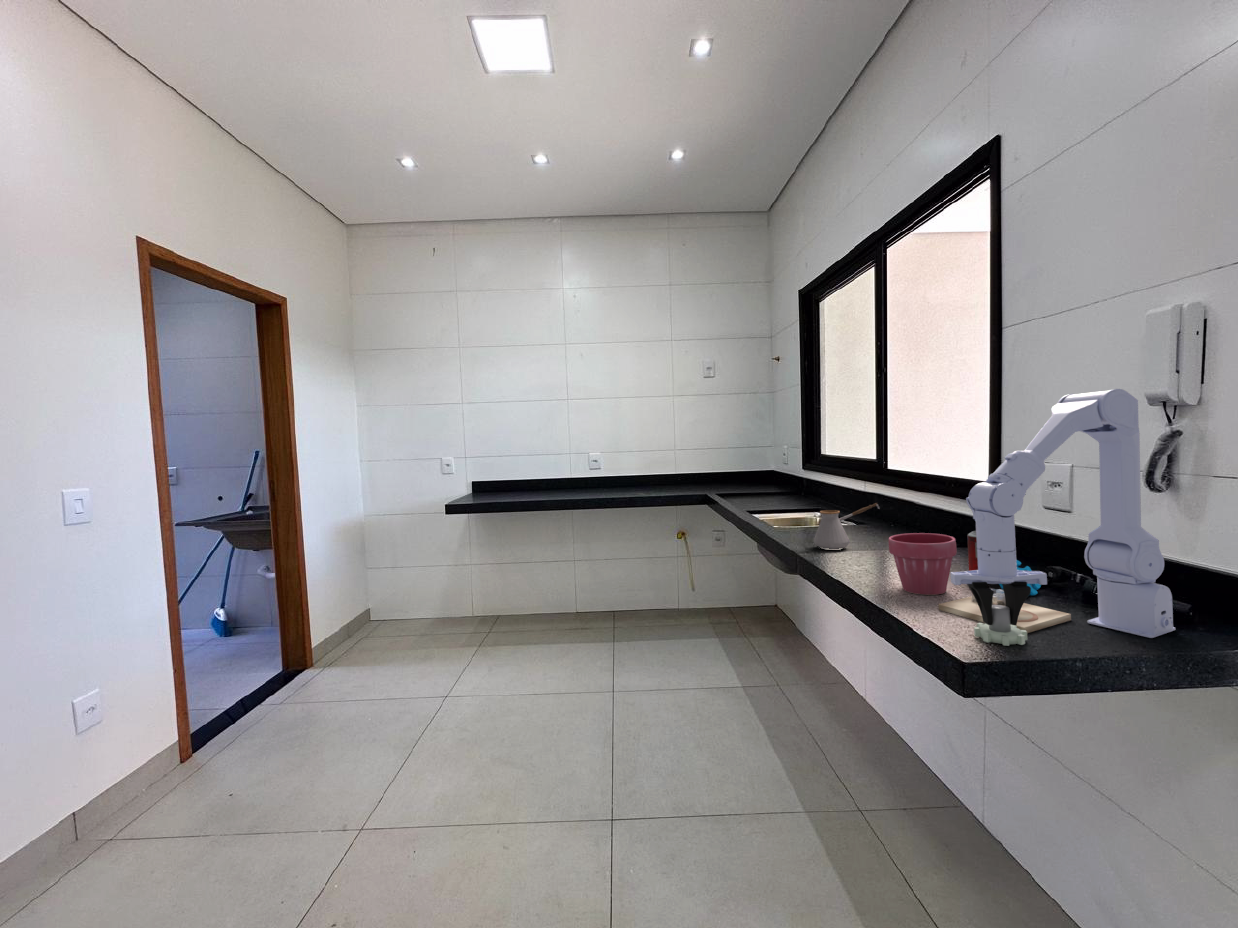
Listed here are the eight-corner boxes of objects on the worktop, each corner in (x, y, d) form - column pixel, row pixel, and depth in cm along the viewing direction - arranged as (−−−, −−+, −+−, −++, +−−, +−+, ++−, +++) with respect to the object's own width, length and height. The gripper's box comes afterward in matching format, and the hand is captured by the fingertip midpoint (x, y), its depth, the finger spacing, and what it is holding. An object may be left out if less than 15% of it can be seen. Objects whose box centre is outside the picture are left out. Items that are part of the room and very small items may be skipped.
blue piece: (1005, 592, 116) (986, 554, 123) (990, 605, 121) (973, 567, 128) (1055, 596, 116) (1034, 557, 123) (1039, 609, 121) (1018, 571, 128)
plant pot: (877, 586, 133) (875, 536, 133) (925, 579, 136) (923, 530, 135) (921, 601, 119) (918, 545, 119) (973, 594, 122) (971, 539, 121)
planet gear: (1037, 639, 93) (1036, 609, 93) (1008, 648, 91) (1007, 617, 90) (992, 627, 101) (991, 598, 100) (964, 635, 98) (963, 605, 98)
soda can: (1006, 585, 126) (1004, 534, 126) (971, 583, 130) (968, 534, 129) (1001, 578, 133) (998, 529, 132) (967, 576, 136) (965, 529, 136)
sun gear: (1018, 602, 111) (1018, 590, 111) (997, 608, 108) (996, 595, 108) (985, 594, 117) (985, 583, 117) (964, 600, 114) (963, 588, 114)
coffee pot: (816, 552, 175) (813, 507, 175) (811, 545, 186) (809, 503, 186) (886, 551, 170) (883, 505, 170) (876, 544, 182) (874, 501, 181)
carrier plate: (1071, 620, 102) (1070, 613, 102) (1024, 633, 97) (1024, 626, 97) (982, 598, 118) (982, 592, 118) (938, 609, 113) (938, 603, 113)
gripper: (959, 554, 93) (963, 630, 93) (1055, 552, 89) (1059, 631, 90) (945, 546, 100) (948, 617, 100) (1033, 544, 96) (1036, 617, 97)
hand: (999, 623), depth 95 cm, fingers closed on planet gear, 3 cm apart
